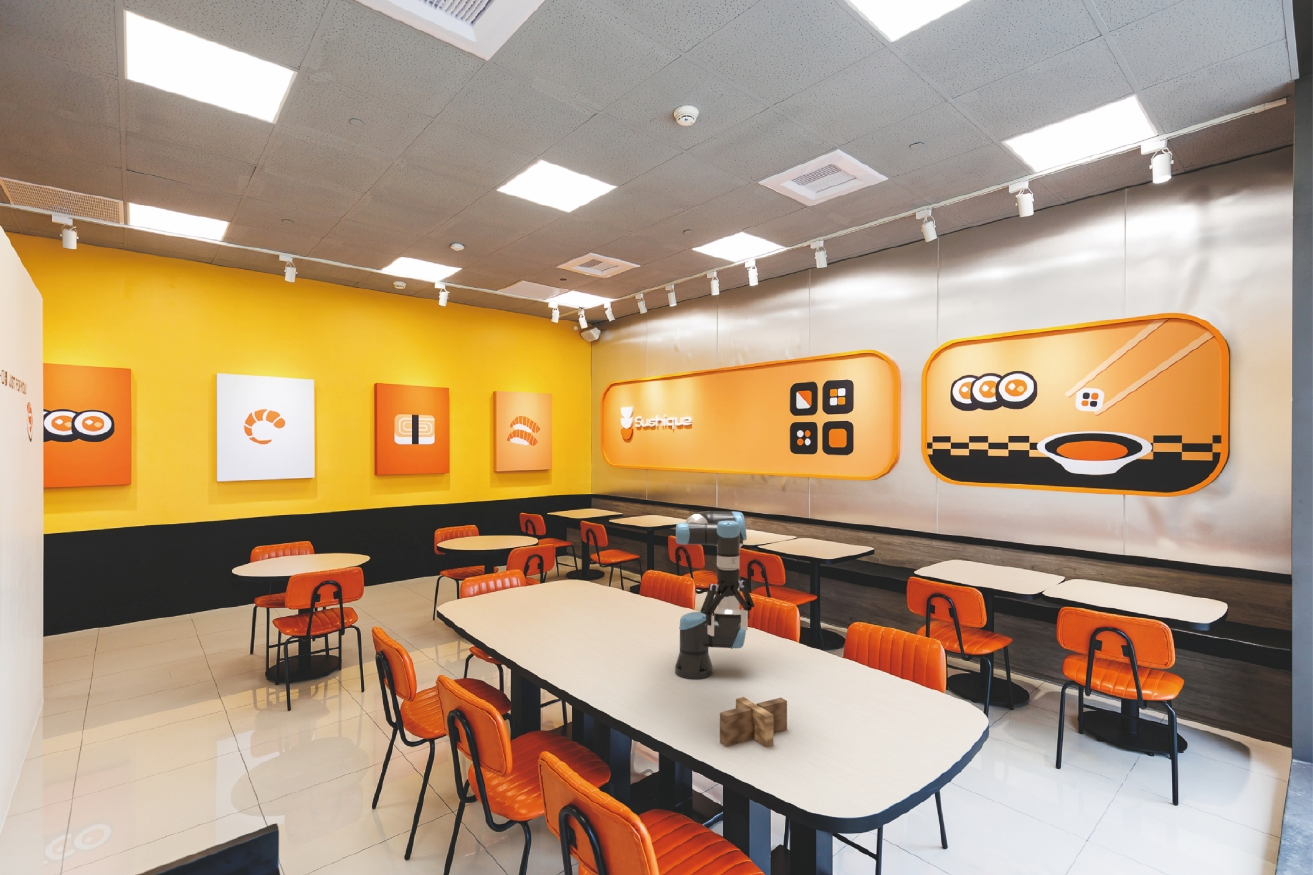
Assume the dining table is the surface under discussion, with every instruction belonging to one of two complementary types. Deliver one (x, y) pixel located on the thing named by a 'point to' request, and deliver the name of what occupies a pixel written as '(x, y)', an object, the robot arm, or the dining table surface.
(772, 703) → the walnut board
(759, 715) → the oak plate
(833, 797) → the dining table surface
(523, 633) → the dining table surface
